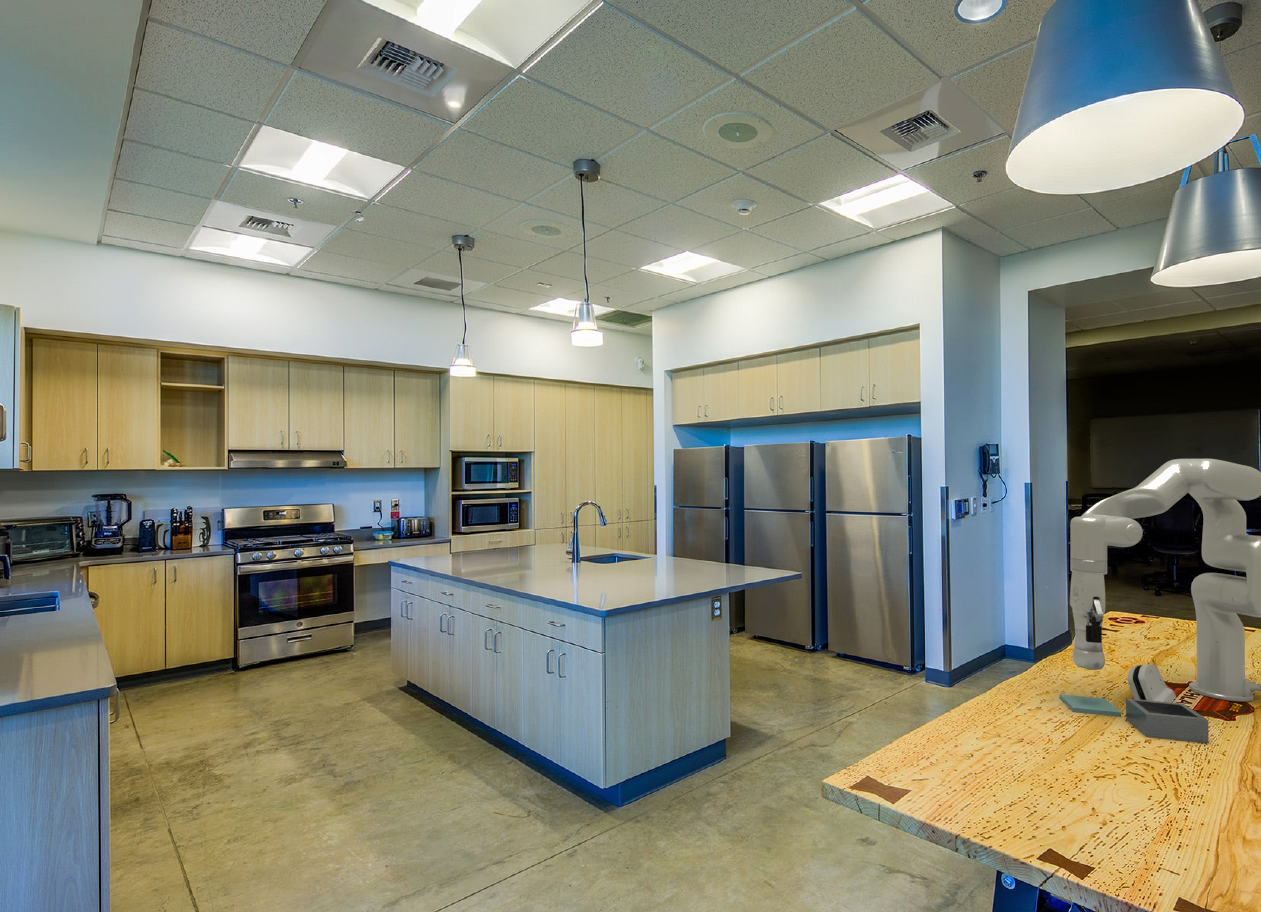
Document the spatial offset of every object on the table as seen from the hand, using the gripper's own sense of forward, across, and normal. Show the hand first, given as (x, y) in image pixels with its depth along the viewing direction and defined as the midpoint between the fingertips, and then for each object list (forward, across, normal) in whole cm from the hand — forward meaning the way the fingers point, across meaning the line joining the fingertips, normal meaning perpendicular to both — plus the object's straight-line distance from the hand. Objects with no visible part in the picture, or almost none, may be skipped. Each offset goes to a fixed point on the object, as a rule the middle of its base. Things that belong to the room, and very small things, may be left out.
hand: (1088, 638), depth 164 cm
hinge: (+17, -10, +17) cm, 26 cm away
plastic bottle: (+8, 0, 0) cm, 8 cm away
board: (+17, 0, 0) cm, 17 cm away
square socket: (+17, +12, +11) cm, 24 cm away
